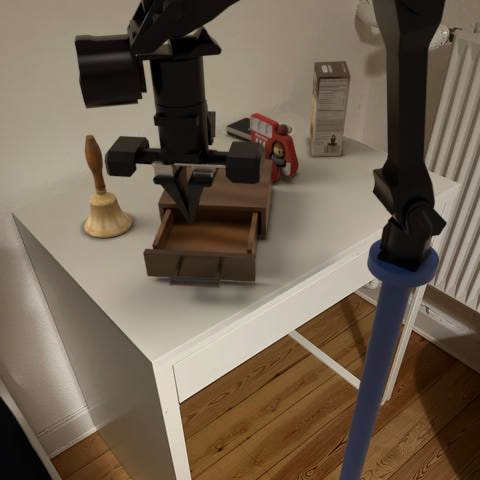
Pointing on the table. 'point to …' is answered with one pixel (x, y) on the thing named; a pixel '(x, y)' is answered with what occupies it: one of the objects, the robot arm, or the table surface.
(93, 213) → the hand bell
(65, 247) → the table surface
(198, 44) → the robot arm
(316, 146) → the coffee box
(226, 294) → the table surface
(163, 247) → the drawer
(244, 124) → the external hard drive
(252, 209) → the cabinet
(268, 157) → the toy fire truck
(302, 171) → the table surface
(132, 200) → the table surface
